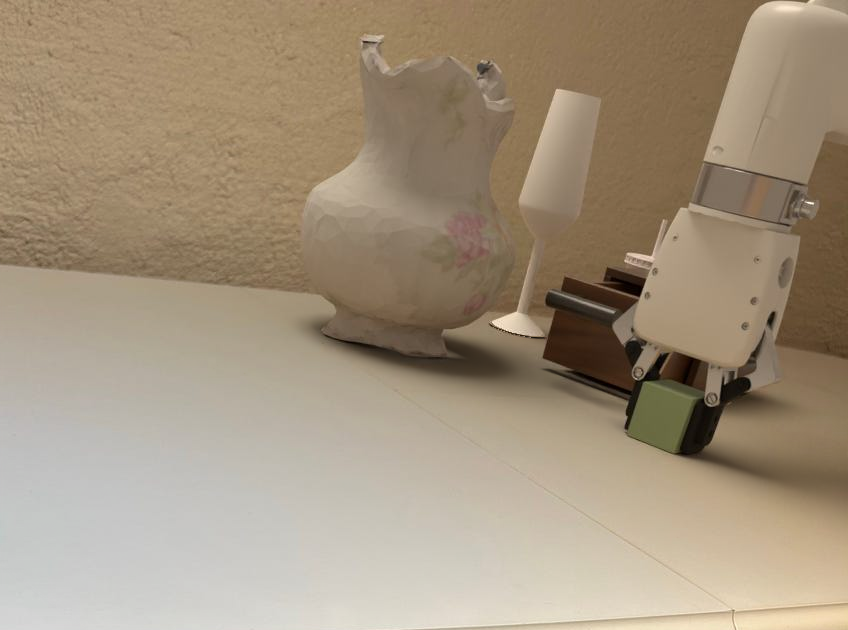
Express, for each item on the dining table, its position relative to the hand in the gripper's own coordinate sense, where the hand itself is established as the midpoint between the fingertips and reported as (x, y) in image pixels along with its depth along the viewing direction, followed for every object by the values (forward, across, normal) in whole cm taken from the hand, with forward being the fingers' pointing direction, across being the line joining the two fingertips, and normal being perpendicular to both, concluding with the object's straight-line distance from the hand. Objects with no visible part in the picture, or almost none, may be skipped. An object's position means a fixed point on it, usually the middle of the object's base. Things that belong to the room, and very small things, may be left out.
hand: (663, 437), depth 84 cm
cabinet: (0, +13, -25) cm, 28 cm away
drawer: (-1, +13, -13) cm, 18 cm away
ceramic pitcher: (+1, +29, +1) cm, 29 cm away
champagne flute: (+1, +31, -23) cm, 39 cm away
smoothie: (+1, +25, -38) cm, 45 cm away
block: (0, 0, 0) cm, 0 cm away
